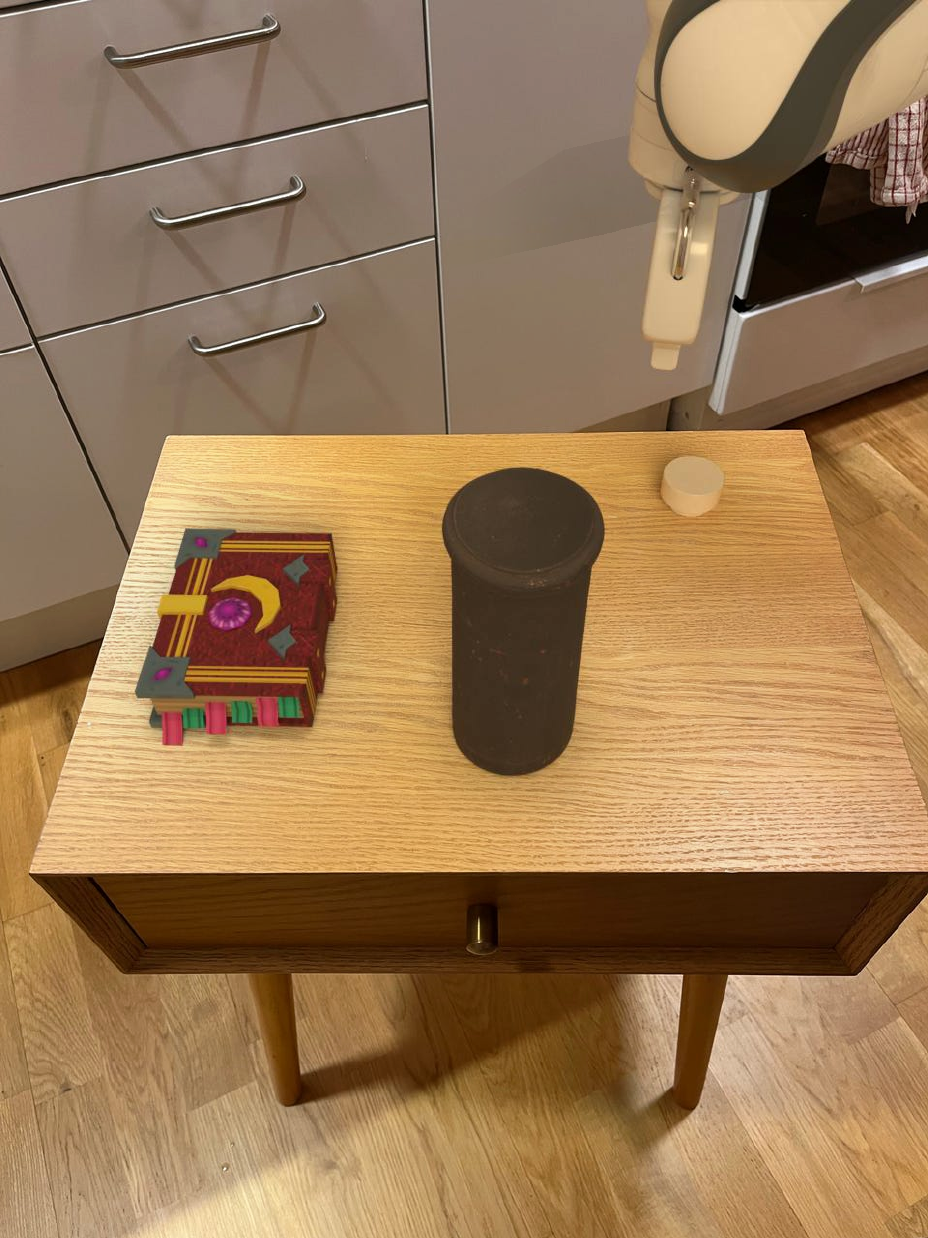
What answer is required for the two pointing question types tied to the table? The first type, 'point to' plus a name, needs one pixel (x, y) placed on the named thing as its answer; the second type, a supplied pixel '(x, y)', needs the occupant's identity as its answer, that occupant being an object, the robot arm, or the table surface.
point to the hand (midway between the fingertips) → (669, 326)
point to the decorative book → (241, 632)
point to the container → (518, 613)
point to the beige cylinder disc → (692, 485)
